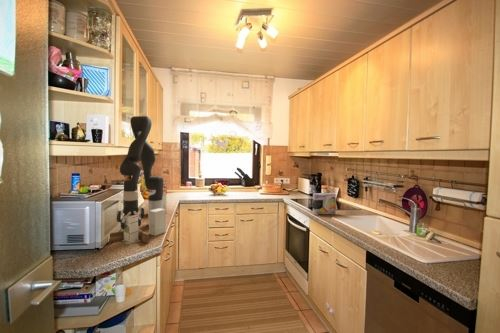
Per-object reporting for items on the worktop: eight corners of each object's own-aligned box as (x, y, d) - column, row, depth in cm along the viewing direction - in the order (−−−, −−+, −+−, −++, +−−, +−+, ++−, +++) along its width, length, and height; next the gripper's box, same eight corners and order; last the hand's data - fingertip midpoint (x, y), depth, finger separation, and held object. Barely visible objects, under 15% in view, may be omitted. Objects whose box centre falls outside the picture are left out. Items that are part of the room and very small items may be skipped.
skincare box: (159, 231, 166) (159, 207, 165) (166, 232, 163) (166, 208, 162) (148, 234, 159) (148, 210, 158) (155, 236, 156) (155, 211, 155)
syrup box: (138, 239, 148) (138, 214, 147) (129, 242, 143) (129, 216, 142) (132, 238, 151) (132, 213, 150) (123, 240, 146) (122, 215, 145)
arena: (107, 242, 144) (107, 233, 143) (137, 236, 155) (137, 228, 155) (117, 250, 132) (117, 240, 132) (149, 243, 144) (148, 234, 143)
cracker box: (166, 214, 211) (166, 188, 210) (161, 215, 206) (161, 189, 205) (153, 212, 217) (153, 187, 216) (148, 213, 212) (147, 188, 211)
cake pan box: (313, 215, 215) (313, 193, 214) (311, 213, 220) (311, 192, 219) (335, 215, 217) (336, 193, 216) (333, 213, 222) (334, 192, 221)
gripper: (140, 196, 153) (141, 223, 154) (114, 199, 143) (115, 228, 144) (146, 198, 148) (146, 226, 149) (119, 201, 138) (119, 231, 139)
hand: (131, 227), depth 147 cm, fingers open, 8 cm apart
